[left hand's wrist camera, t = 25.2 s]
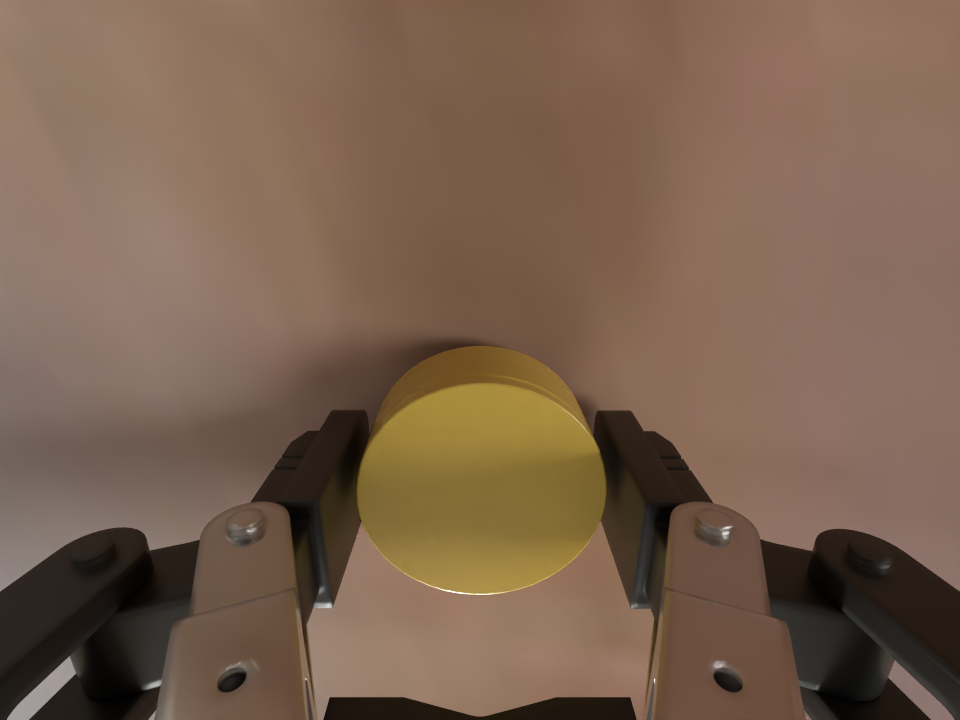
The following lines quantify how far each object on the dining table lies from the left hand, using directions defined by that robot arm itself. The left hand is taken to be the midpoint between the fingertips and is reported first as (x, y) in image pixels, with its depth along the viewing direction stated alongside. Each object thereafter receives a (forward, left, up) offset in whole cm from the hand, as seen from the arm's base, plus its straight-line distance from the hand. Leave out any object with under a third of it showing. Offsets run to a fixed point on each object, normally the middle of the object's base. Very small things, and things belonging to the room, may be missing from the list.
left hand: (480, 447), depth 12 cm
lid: (0, 0, +2) cm, 2 cm away
